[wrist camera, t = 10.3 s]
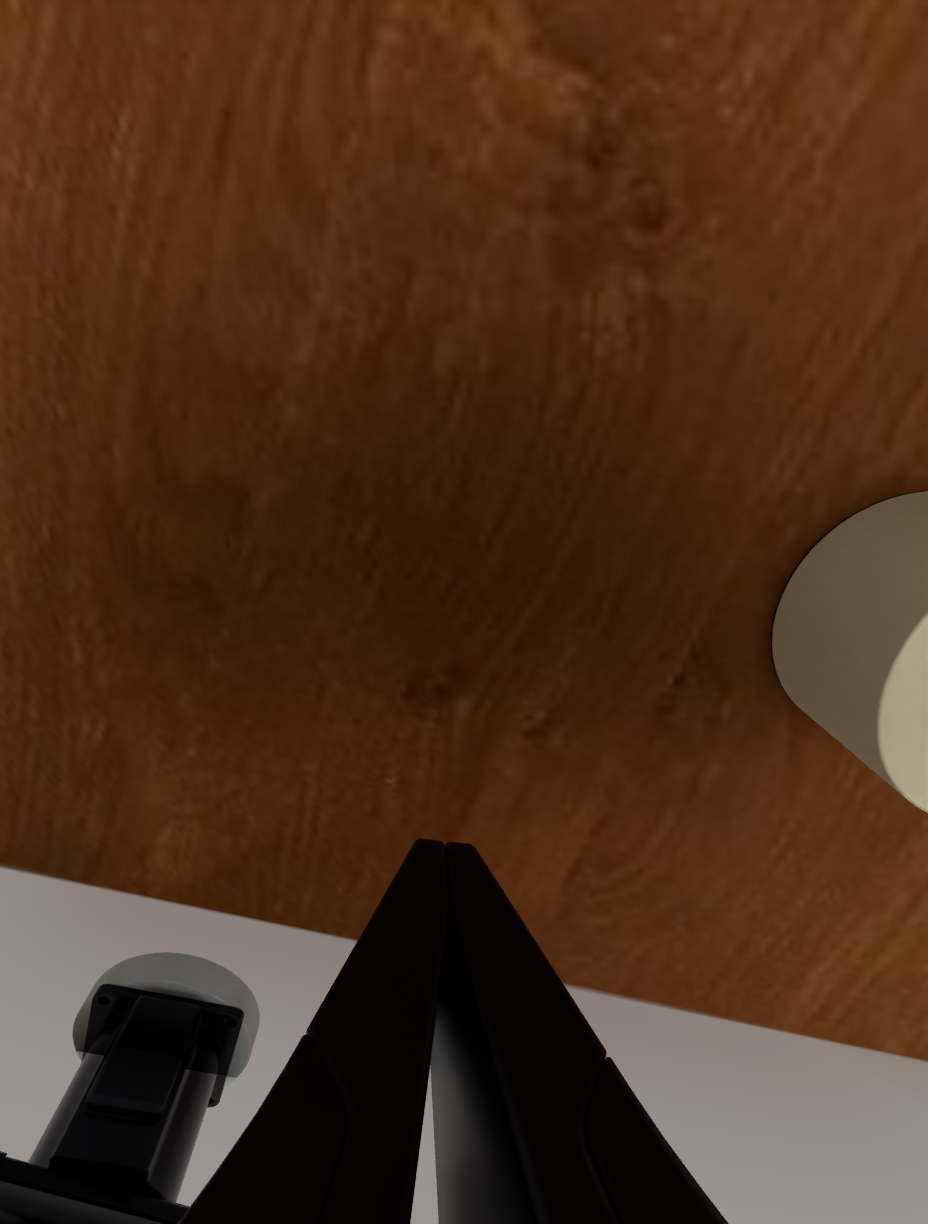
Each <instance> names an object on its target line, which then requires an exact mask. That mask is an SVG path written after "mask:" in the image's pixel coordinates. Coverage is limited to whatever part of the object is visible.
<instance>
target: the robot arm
mask: <svg viewBox="0 0 928 1224" xmlns="http://www.w3.org/2000/svg"><path fill="white" fill-rule="evenodd" d="M243 1019H244V1012H243V1010H241V1009H240V1008H237V1007H233V1006H228V1005H222V1004H217V1003H211V1002H206V1001H201V1000H195V999H190V998H184V997H179V996H173V995H168V994H163V993H157V992H152V991H146V990H141V989H135V988H130V987H125V986H119V985H114V984H103V985H101V986H99V987H98V989H97V991H96V993H95V994H94V996H93V998H92V1004H91V1010H90V1015H89V1021H88V1027H87V1033H86V1039H85V1045H84V1051H83V1057H82V1063H81V1065H80V1067H79V1069H78V1071H77V1073H76V1074H75V1076H74V1078H73V1080H72V1082H71V1083H70V1085H69V1087H68V1089H67V1091H66V1093H65V1095H64V1096H63V1098H62V1100H61V1102H60V1104H59V1106H58V1108H57V1110H56V1111H55V1113H54V1115H53V1117H52V1119H51V1121H50V1122H49V1124H48V1126H47V1128H46V1130H45V1132H44V1134H43V1136H42V1138H41V1139H40V1141H39V1143H38V1145H37V1147H36V1149H35V1150H34V1152H33V1154H32V1156H31V1158H30V1160H29V1161H28V1163H27V1162H23V1161H20V1160H16V1159H13V1158H9V1157H6V1155H7V1153H4V1152H1V1151H0V1224H410V1219H411V1212H412V1204H413V1196H414V1189H415V1181H416V1172H417V1164H418V1157H419V1149H420V1141H421V1132H422V1125H423V1117H424V1108H425V1100H426V1093H427V1085H428V1077H429V1070H430V1064H431V1082H432V1101H433V1121H434V1140H435V1158H436V1178H437V1195H438V1215H439V1224H728V1222H727V1221H726V1220H725V1219H724V1217H723V1216H722V1215H721V1214H720V1212H719V1211H718V1209H717V1208H716V1207H715V1206H714V1204H713V1203H712V1202H711V1200H710V1199H709V1198H708V1196H707V1195H706V1194H705V1193H704V1191H703V1190H702V1188H701V1187H700V1186H699V1184H698V1183H697V1182H696V1180H695V1179H694V1178H693V1176H692V1175H691V1174H690V1172H689V1171H688V1170H687V1168H686V1167H685V1165H684V1164H683V1163H682V1161H681V1160H680V1159H679V1157H678V1156H677V1155H676V1153H675V1152H674V1151H673V1149H672V1148H671V1146H670V1145H669V1144H668V1142H667V1141H666V1140H665V1138H664V1137H663V1136H662V1134H661V1133H660V1131H659V1130H658V1128H657V1127H656V1125H655V1124H654V1122H653V1121H652V1119H651V1118H650V1116H649V1115H648V1113H647V1112H646V1110H645V1109H644V1108H643V1106H642V1105H641V1103H640V1102H639V1100H638V1099H637V1097H636V1096H635V1094H634V1093H633V1091H632V1090H631V1088H630V1087H629V1085H628V1084H627V1082H626V1081H625V1079H624V1077H623V1076H622V1074H621V1073H620V1072H619V1070H618V1068H617V1066H616V1065H615V1064H614V1062H613V1060H612V1059H611V1058H610V1057H607V1058H605V1057H606V1050H605V1048H604V1047H603V1045H602V1044H601V1042H600V1040H599V1039H598V1037H597V1036H596V1034H595V1033H594V1031H593V1030H592V1028H591V1026H590V1025H589V1023H588V1022H587V1020H586V1019H585V1017H584V1016H583V1014H582V1013H581V1011H580V1009H579V1008H578V1006H577V1005H576V1003H575V1002H574V1000H573V998H572V997H571V996H570V994H569V992H568V991H567V989H566V988H565V986H564V984H563V983H562V981H561V980H560V978H559V977H558V975H557V974H556V972H555V971H554V969H553V967H552V966H551V964H550V963H549V961H548V960H547V958H546V957H545V955H544V953H543V952H542V950H541V949H540V947H539V946H538V944H537V943H536V941H535V939H534V938H533V936H532V935H531V933H530V932H529V930H528V929H527V927H526V925H525V924H524V922H523V921H522V919H521V918H520V916H519V915H518V913H517V911H516V910H515V908H514V907H513V905H512V904H511V902H510V901H509V899H508V897H507V896H506V894H505V893H504V891H503V890H502V888H501V887H500V885H499V883H498V882H497V880H496V879H495V877H494V876H493V874H492V873H491V871H490V869H489V868H488V866H487V865H486V863H485V862H484V860H483V859H482V857H481V855H480V854H479V852H478V851H477V849H476V848H475V847H474V846H473V845H472V844H468V843H459V842H447V843H446V844H445V845H444V843H443V842H442V841H440V840H432V839H422V838H419V839H417V840H416V841H415V842H414V844H413V845H412V847H411V849H410V851H409V852H408V854H407V856H406V858H405V859H404V861H403V863H402V865H401V866H400V868H399V870H398V872H397V873H396V875H395V877H394V879H393V880H392V882H391V884H390V886H389V887H388V889H387V891H386V893H385V894H384V896H383V898H382V900H381V901H380V903H379V905H378V906H377V908H376V910H375V912H374V913H373V915H372V917H371V919H370V920H369V922H368V924H367V926H366V927H365V929H364V931H363V933H362V934H361V936H360V938H359V940H358V941H357V943H356V945H355V947H354V948H353V950H352V952H351V954H350V955H349V957H348V959H347V961H346V962H345V964H344V966H343V967H342V969H341V971H340V973H339V974H338V976H337V978H336V980H335V981H334V983H333V985H332V987H331V989H330V990H329V992H328V994H327V995H326V997H325V999H324V1001H323V1002H322V1004H321V1006H320V1008H319V1009H318V1011H317V1013H316V1015H315V1017H314V1018H313V1020H312V1022H311V1023H310V1025H309V1027H308V1029H307V1032H306V1035H304V1036H303V1037H302V1038H301V1040H300V1042H299V1043H298V1045H297V1047H296V1049H295V1051H294V1052H293V1054H292V1056H291V1057H290V1059H289V1061H288V1063H287V1064H286V1066H285V1068H284V1070H283V1071H282V1073H281V1074H280V1076H279V1077H278V1079H277V1081H276V1082H275V1084H274V1086H273V1087H272V1089H271V1090H270V1092H269V1094H268V1095H267V1097H266V1099H265V1100H264V1102H263V1103H262V1105H261V1107H260V1108H259V1110H258V1111H257V1113H256V1115H255V1116H254V1117H253V1119H252V1120H251V1122H250V1123H249V1125H248V1126H247V1128H246V1129H245V1130H244V1132H243V1133H242V1135H241V1136H240V1138H239V1139H238V1141H237V1142H236V1144H235V1145H234V1146H233V1148H232V1149H231V1151H230V1152H229V1154H228V1155H227V1157H226V1158H225V1159H224V1161H223V1162H222V1164H221V1165H220V1167H219V1168H218V1169H217V1171H216V1172H215V1174H214V1175H213V1176H212V1178H211V1179H210V1181H209V1182H208V1183H207V1185H206V1186H205V1187H204V1189H203V1190H202V1191H201V1193H200V1194H199V1196H198V1197H197V1198H196V1200H195V1201H194V1202H193V1204H192V1205H191V1206H190V1207H189V1206H185V1205H182V1204H178V1203H176V1200H177V1197H178V1194H179V1191H180V1188H181V1185H182V1182H183V1179H184V1176H185V1173H186V1170H187V1167H188V1164H189V1161H190V1158H191V1155H192V1151H193V1149H194V1146H195V1142H196V1139H197V1136H198V1133H199V1130H200V1127H201V1124H202V1121H203V1118H204V1115H205V1112H206V1109H207V1107H214V1106H216V1105H217V1104H218V1103H219V1101H220V1098H221V1095H222V1091H223V1088H224V1084H225V1081H226V1078H227V1074H228V1071H229V1067H230V1064H231V1060H232V1057H233V1054H234V1050H235V1047H236V1043H237V1040H238V1036H239V1033H240V1029H241V1026H242V1023H243Z"/></svg>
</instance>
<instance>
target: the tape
mask: <svg viewBox="0 0 928 1224" xmlns="http://www.w3.org/2000/svg"><path fill="white" fill-rule="evenodd" d="M772 650H773V659H774V664H775V668H776V672H777V675H778V677H779V680H780V682H781V685H782V686H783V688H784V690H785V691H786V693H787V695H788V696H789V697H790V698H791V700H792V701H793V702H794V703H795V704H796V705H797V706H798V707H799V708H800V709H801V710H802V711H803V712H805V713H806V714H807V715H808V716H809V717H811V718H812V719H813V720H814V721H815V722H816V723H818V724H819V725H820V726H821V727H822V728H823V729H825V730H826V731H827V732H828V733H829V734H831V735H832V736H833V737H834V738H835V739H836V740H838V741H839V742H840V743H841V744H842V745H844V746H845V747H846V748H847V749H848V750H849V751H851V752H852V753H853V754H854V755H855V756H856V757H858V758H859V759H860V760H861V761H862V762H864V763H865V764H866V765H867V766H868V767H869V768H871V769H872V770H873V771H874V772H875V773H876V774H878V775H879V776H880V777H881V778H882V779H884V780H885V781H886V782H887V783H888V784H889V785H891V786H892V787H893V788H894V789H895V790H897V791H898V792H899V793H900V794H901V795H902V796H904V797H905V798H906V799H907V800H908V801H910V802H911V803H912V804H913V805H914V806H916V807H918V808H920V809H921V810H923V811H925V812H926V813H928V491H926V492H918V493H910V494H906V495H902V496H898V497H894V498H891V499H888V500H885V501H883V502H880V503H877V504H875V505H872V506H870V507H868V508H866V509H864V510H863V511H861V512H859V513H857V514H855V515H853V516H852V517H850V518H849V519H847V520H846V521H844V522H843V523H841V524H840V525H838V526H837V527H836V528H835V529H833V530H832V531H831V532H830V533H829V534H827V535H826V536H825V537H824V538H823V539H822V540H821V541H820V542H819V543H818V544H817V545H816V546H815V547H814V548H813V549H812V550H811V551H810V552H809V554H808V555H807V556H806V557H805V558H804V560H803V561H802V562H801V563H800V565H799V566H798V568H797V569H796V571H795V573H794V574H793V576H792V577H791V579H790V580H789V582H788V585H787V587H786V589H785V591H784V593H783V595H782V597H781V600H780V603H779V606H778V609H777V612H776V616H775V621H774V626H773V636H772Z"/></svg>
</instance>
